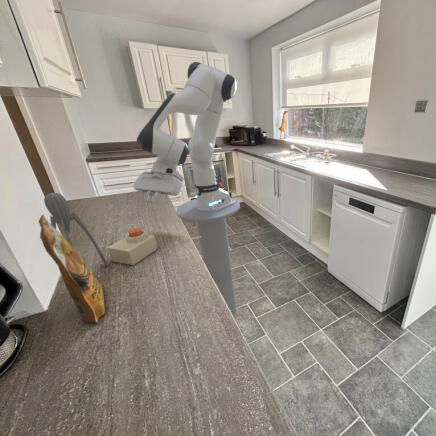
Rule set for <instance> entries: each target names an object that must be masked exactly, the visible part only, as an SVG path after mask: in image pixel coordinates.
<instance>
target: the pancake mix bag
mask: <svg viewBox="0 0 436 436" xmlns="http://www.w3.org/2000/svg"><path fill="white" fill-rule="evenodd" d="M38 223H39V226H40V232H39V233H40V234H39V238H40V240H41V242H42V245H43V248H44V249H45V251H46V253H47V254H48V255H49V257H51V259H52V260H53V261H54V263H55V264H56V265H57V267H58V270H59V272H60V275H61V277H62V281H63V283H64V285H65V287H66V289H67V291H68V293H69V295H70V297H71V299H72V301H73V302H74V304H75V306H76V309H77V311H78V312H79V314H80V315H81V317H82V319H83V321H84V322H86V323H89V324H98V322H99V319H100V318H101V317H103V316H104V315H105V313H106V308H105V298H104V290H103V288H102V285H101V284H100V282H99V281H98V279H97V278H96V276H95V275H94V273H93V271H92V270H91V269H90V268H89V266H88V265H87V264H86V262H84V260H83V258H82V257H81V256H80V255H79V253H78V252H77V250H76V249H75V248H74V247H73V248H74V249H73V248H72V246H73V245H72V246H71V245H70V243H69V242H68V240H67V238H66V237H65V236H64V235H63V234H62V233H60V231H58V229H57V228H56V229H55V228H54V227H53V226H52V225H51V222H49V221H48V219H47V218H46V217H45V215H44V214H41V216H40V217H39V219H38Z"/></svg>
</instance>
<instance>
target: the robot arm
mask: <svg viewBox="0 0 436 436" xmlns="http://www.w3.org/2000/svg"><path fill="white" fill-rule="evenodd" d="M186 75H187V80H186V82H185V84H184V87H183V88H182V89H181V90H180V91H179V92H177V93H176V92H172V93H170V94H169V95H168V96H167V97H166V98H165V99H164V101H163V102H162V103H161V104H160V106H159V107H158V108H157V110H156V111H155V112H154V114H153V115H152V117H151V118H150V119H149V121H148V122H147V123H146V124H145V125H144V126H143V127H142V128H141V129H140V130H139V132H138V133H137V136H136V142H137V145H138V146H139V148H140V149H141V150H142V151H145V152H147V153H150V154H153V155H155V156H157V158H156V159H155V161H154V163H153V165H152V167H151V169H150V171H144V172H142V173H140V174H139V175H138V177H137V178H136V180H135V182H134V183H133V185H132V186H133V187H132V188H133V189H134V190H135V191H137V192H139V193H146V195H147V198H146V202H147V203H150V204H156V202H157V200H159V198H161V197H162V195H163V196H164V195H165V196H174V197H175V196H176V197H177V196H178V195H180V193H181V191H182V187H183V181H184V179H185V177H184V176H182V174H181V173H180V172H179V171H177V167H178V166H180V165H183V164H185V163H186V161H187V158H188V155H189V157H190V162H191V166H192V167H191V169H192V173H193V178H194V191H195V196H194V199H197V206H196V209H197V210H200V211H219V210H221V209H224V208H226V207H228V206H231V205H233V204H235V201H234V200H233V199H234V198H233V199H231V198H232V197H233V196H232V195H233V194H232V192H230V191H227V190H225V189H223V188H222V187H223V183H222V182H217V179H216V172H215V167H214V163H213V158H212V157H213V156H214V150H215V147H216V146H215V145H216V141H217V134H218V130H219V127H220V123H221V120H222V115H223V113H224V107H225V102H226V101H229V100H231V99H232V98H233V97H234V96H235V94H236V92H237V80H236V78H235V76H233V75H231V74H229V73H226V72H224V71H223V70H221V69H219V68H216V67H213V66H210V65H207V64H204V63H202V62H200V61H194V62H191V63H190V64H189V66H188V68H187V73H186ZM174 113H179V114H185V115H191V116H196V119H195V123H194V127H193V133H192V137H191V138H190V139H189V141H188V143H186V142H185V141H183V140H181V139H180V138H177V137H175V136H173V135H171V134H169V133H167V132H165V131H163V130H161V127H162V125H163V124H164V122H165V121H166V120H167V118H168V117H169V116H170V115H172V114H174Z"/></svg>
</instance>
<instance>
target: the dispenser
mask: <svg viewBox="0 0 436 436" xmlns="http://www.w3.org/2000/svg"><path fill="white" fill-rule="evenodd" d="M141 230H142V233H143V234H142V235H140V236H137V237H130V236H129V233H128V232H127V233H126V234H125V235H124V238H122V239H120V240H118V241H117V242H115V243H113V244H111V245H109V246H107V247H106V248H107V251H108V254H109V256H110V259H111V261H112V262H116V263H120V264H124V265H125V264H126V265H130V266H135V265H136V264H138V263H139V262H140V261H142V260H143V259H145V258H147V257H148V256H149V255H151V254H152V253H154V252H155V251H157V250H158V245H157V241H156V236H155V235H151V234H148V231H146V229H141Z"/></svg>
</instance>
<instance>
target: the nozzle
mask: <svg viewBox="0 0 436 436" xmlns="http://www.w3.org/2000/svg"><path fill="white" fill-rule="evenodd" d="M142 230H143V229H142V228H141V227H133V228H131V229H128V230H127V233H129V236H130V237H137V236H140V235H142V234H143V233H142Z"/></svg>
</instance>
